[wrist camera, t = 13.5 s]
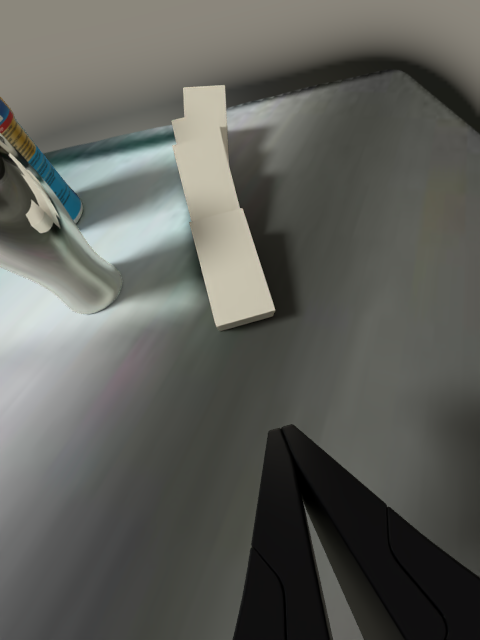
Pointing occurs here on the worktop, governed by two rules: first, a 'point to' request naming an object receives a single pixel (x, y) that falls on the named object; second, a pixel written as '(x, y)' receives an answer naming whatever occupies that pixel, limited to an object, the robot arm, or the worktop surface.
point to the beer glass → (48, 240)
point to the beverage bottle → (38, 161)
